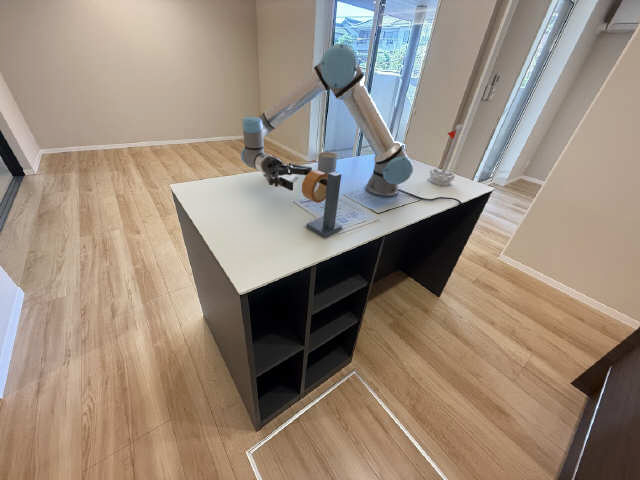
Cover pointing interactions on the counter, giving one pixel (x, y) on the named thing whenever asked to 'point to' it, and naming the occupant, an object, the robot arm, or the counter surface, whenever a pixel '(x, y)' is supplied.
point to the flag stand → (443, 176)
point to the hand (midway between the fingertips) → (306, 182)
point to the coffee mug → (327, 162)
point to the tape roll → (310, 185)
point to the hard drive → (289, 177)
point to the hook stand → (328, 207)
